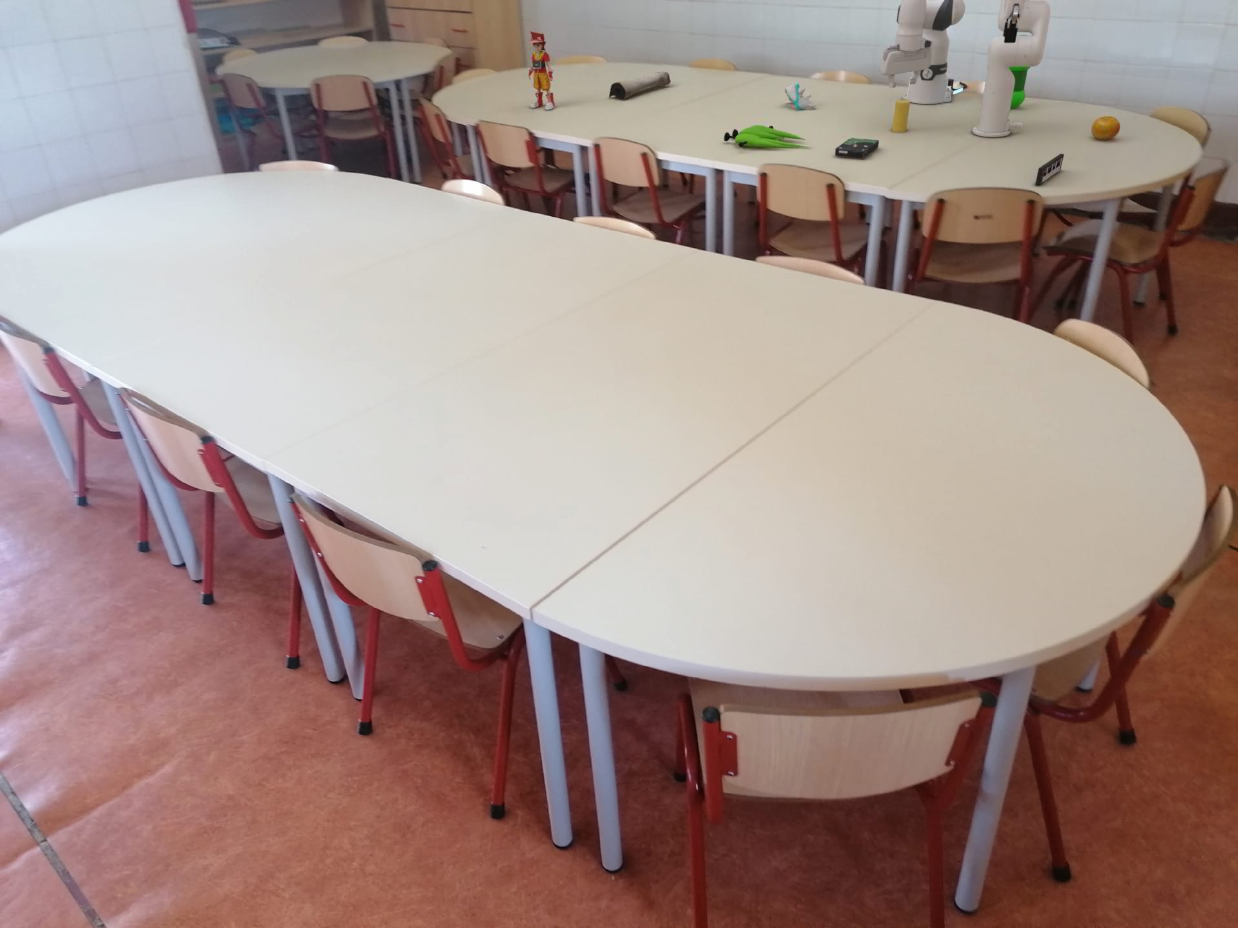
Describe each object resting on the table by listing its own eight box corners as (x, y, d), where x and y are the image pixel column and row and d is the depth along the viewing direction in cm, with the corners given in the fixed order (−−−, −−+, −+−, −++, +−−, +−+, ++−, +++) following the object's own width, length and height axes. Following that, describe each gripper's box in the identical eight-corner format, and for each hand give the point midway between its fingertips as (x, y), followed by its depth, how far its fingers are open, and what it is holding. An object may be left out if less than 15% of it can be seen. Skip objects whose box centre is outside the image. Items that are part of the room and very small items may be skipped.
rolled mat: (651, 76, 408) (662, 61, 399) (662, 93, 408) (674, 79, 400) (605, 92, 391) (616, 77, 383) (617, 110, 391) (628, 95, 383)
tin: (890, 129, 328) (893, 100, 322) (903, 128, 328) (907, 99, 323) (894, 132, 324) (898, 103, 318) (908, 131, 324) (912, 102, 319)
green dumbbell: (1029, 106, 343) (1043, 35, 329) (1012, 111, 338) (1026, 39, 324) (1007, 102, 350) (1020, 32, 336) (989, 107, 345) (1002, 36, 331)
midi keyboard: (1039, 185, 269) (1043, 168, 266) (1035, 184, 270) (1038, 168, 267) (1060, 170, 279) (1064, 154, 277) (1056, 169, 280) (1060, 153, 277)
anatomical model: (780, 80, 363) (804, 74, 363) (784, 106, 369) (807, 100, 369) (789, 89, 351) (814, 82, 350) (792, 115, 357) (817, 109, 356)
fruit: (1087, 130, 301) (1105, 108, 298) (1084, 133, 309) (1101, 112, 306) (1109, 144, 300) (1127, 122, 297) (1105, 147, 308) (1122, 126, 305)
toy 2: (713, 146, 317) (792, 161, 304) (715, 131, 314) (794, 145, 301) (747, 132, 337) (821, 146, 325) (748, 118, 334) (824, 131, 322)
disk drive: (864, 160, 299) (878, 148, 309) (864, 151, 297) (879, 139, 307) (834, 157, 304) (849, 145, 314) (835, 148, 302) (850, 136, 312)
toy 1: (525, 109, 381) (517, 32, 364) (534, 104, 388) (527, 28, 371) (550, 110, 377) (543, 32, 360) (559, 105, 384) (553, 28, 367)
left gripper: (890, 48, 304) (885, 91, 312) (937, 41, 311) (930, 83, 319) (878, 45, 309) (873, 88, 317) (924, 39, 316) (918, 80, 324)
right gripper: (1005, -28, 269) (995, 34, 279) (1007, -20, 256) (996, 45, 265) (1032, -28, 267) (1020, 34, 277) (1035, -21, 253) (1023, 45, 263)
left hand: (902, 85), depth 318 cm, fingers open, 8 cm apart
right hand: (1008, 39), depth 271 cm, fingers open, 9 cm apart
